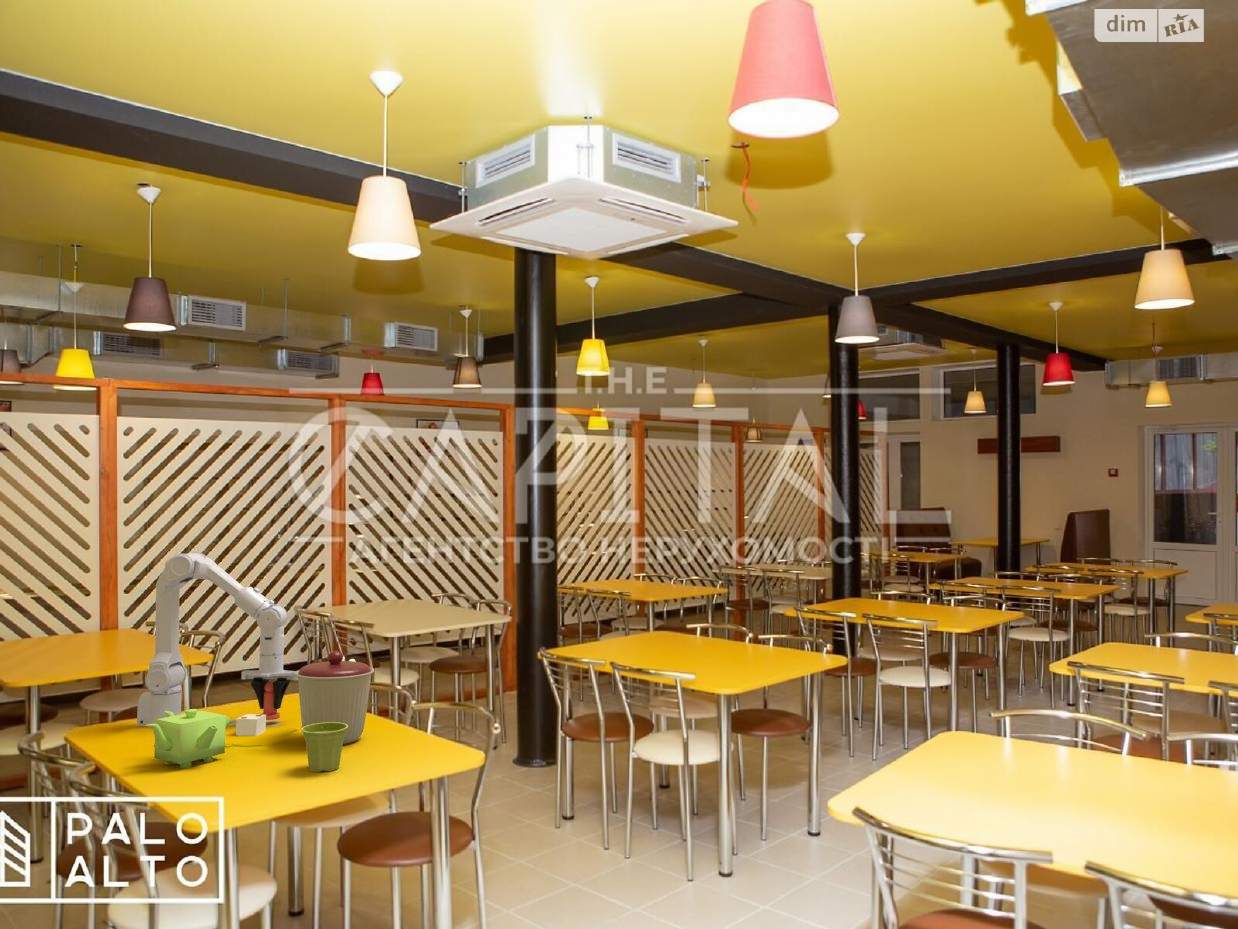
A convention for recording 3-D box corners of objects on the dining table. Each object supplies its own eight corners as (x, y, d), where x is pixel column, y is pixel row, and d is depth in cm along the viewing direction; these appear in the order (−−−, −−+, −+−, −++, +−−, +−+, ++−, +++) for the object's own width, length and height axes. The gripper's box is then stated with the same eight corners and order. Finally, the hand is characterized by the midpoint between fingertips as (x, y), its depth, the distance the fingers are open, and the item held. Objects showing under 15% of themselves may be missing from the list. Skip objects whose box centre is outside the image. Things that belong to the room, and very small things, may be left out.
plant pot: (324, 777, 185) (325, 734, 186) (290, 771, 190) (291, 729, 190) (356, 766, 194) (357, 725, 194) (323, 760, 198) (324, 720, 198)
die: (235, 740, 216) (236, 718, 216) (245, 735, 221) (246, 714, 221) (255, 740, 215) (256, 719, 216) (265, 735, 220) (266, 714, 221)
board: (186, 729, 226) (186, 725, 226) (201, 722, 233) (201, 718, 233) (275, 731, 224) (275, 727, 224) (288, 724, 231) (288, 720, 231)
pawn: (256, 720, 226) (257, 683, 226) (265, 715, 230) (266, 679, 231) (274, 720, 226) (275, 683, 226) (282, 716, 230) (283, 680, 231)
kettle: (143, 773, 187) (144, 718, 188) (158, 756, 201) (159, 705, 201) (221, 768, 191) (223, 714, 192) (231, 752, 205) (232, 701, 205)
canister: (359, 728, 227) (361, 644, 229) (382, 744, 212) (384, 653, 213) (285, 737, 218) (287, 649, 219) (303, 754, 202) (306, 659, 204)
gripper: (236, 656, 225) (234, 711, 225) (292, 657, 224) (291, 712, 224) (249, 651, 232) (248, 705, 232) (304, 652, 231) (303, 706, 231)
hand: (270, 708), depth 228 cm, fingers closed on pawn, 3 cm apart
